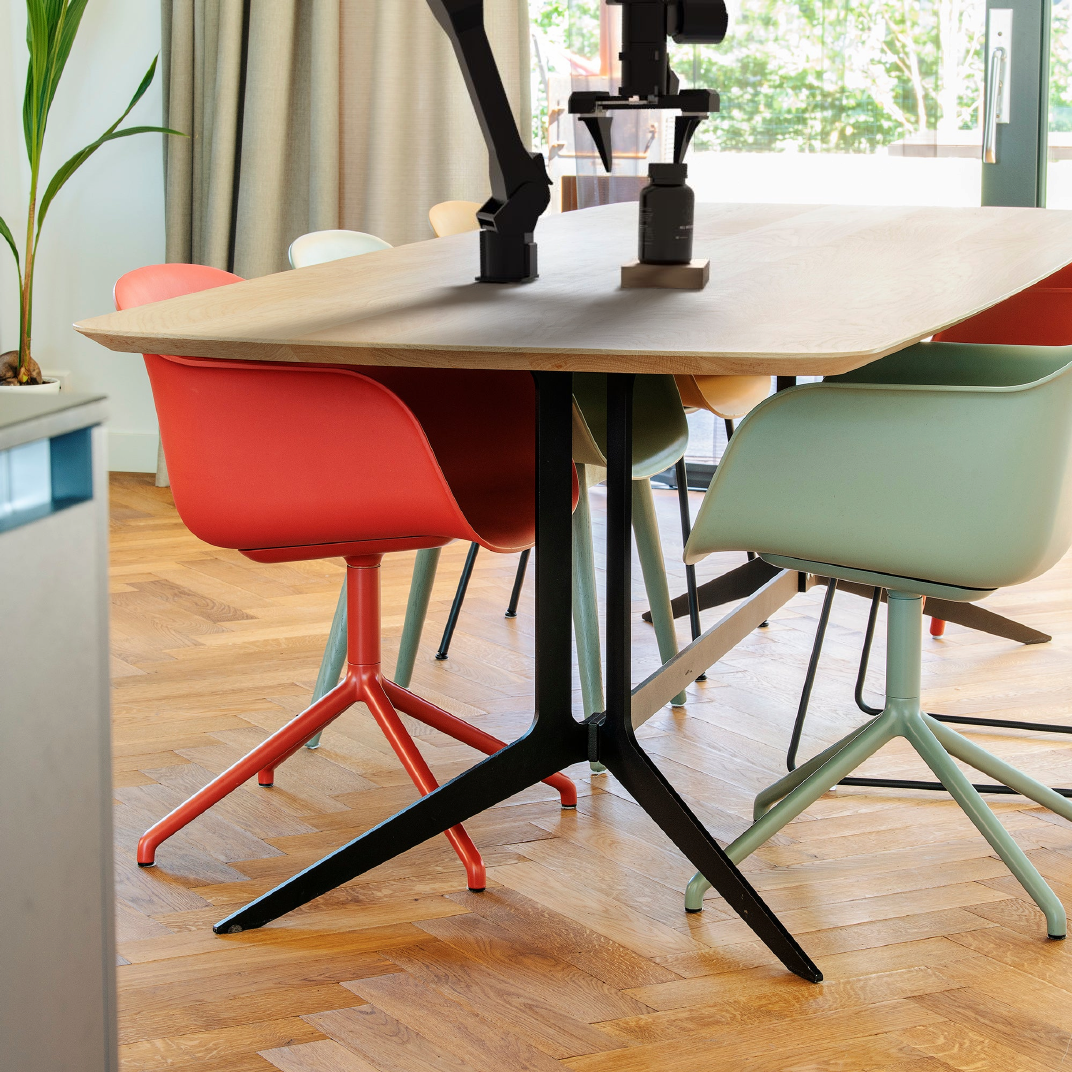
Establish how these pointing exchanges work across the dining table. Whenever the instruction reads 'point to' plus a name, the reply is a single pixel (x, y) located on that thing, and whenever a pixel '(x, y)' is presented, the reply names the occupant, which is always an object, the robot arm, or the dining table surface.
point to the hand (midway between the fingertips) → (642, 172)
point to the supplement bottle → (666, 216)
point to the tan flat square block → (665, 274)
